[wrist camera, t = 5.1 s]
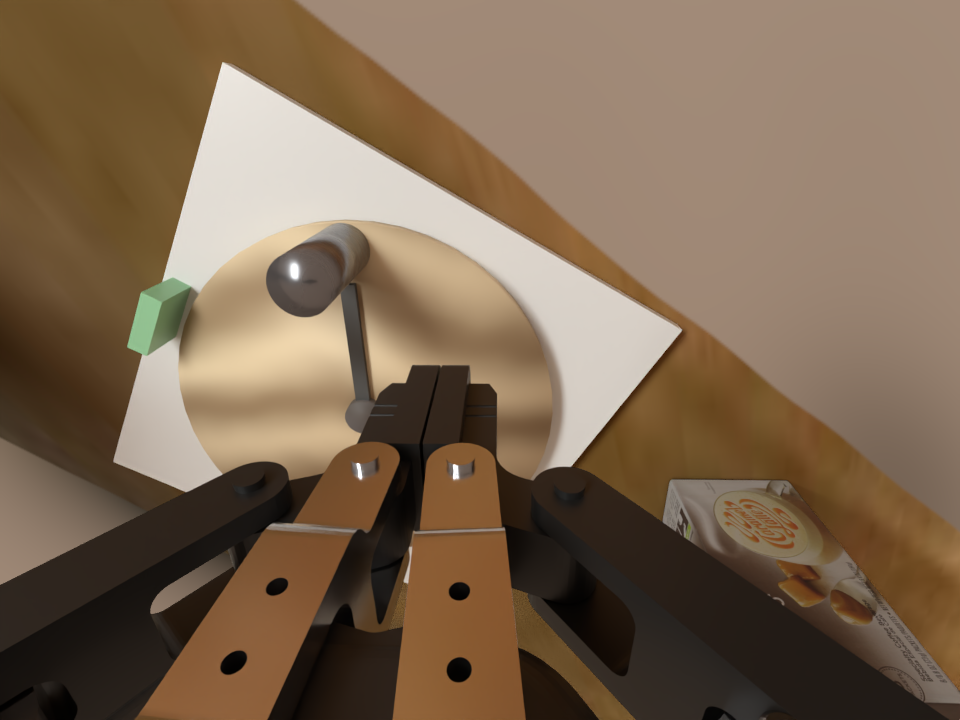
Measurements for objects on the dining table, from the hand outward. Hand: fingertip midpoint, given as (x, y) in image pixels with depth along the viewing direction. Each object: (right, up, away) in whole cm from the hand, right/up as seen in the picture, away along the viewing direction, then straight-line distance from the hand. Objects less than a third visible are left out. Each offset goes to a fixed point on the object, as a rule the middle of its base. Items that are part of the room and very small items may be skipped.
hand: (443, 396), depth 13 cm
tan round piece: (-7, -2, +21) cm, 22 cm away
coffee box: (+20, -11, +26) cm, 34 cm away
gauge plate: (-7, -2, +22) cm, 23 cm away
